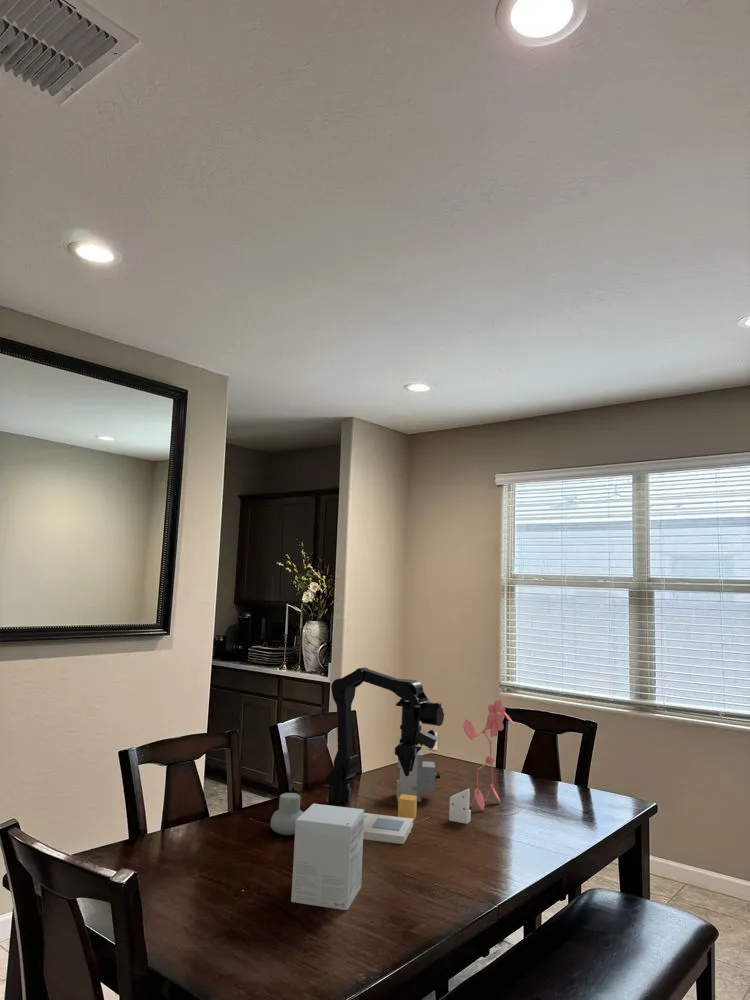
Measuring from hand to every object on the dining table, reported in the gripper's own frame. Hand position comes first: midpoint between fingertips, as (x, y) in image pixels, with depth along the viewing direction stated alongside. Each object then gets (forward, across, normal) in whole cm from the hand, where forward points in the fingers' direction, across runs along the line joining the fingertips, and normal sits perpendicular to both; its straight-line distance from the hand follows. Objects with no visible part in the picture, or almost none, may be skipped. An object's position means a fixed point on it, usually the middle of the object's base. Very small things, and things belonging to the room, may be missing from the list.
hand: (408, 773), depth 214 cm
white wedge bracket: (+13, +3, -16) cm, 21 cm away
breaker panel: (+13, -15, +7) cm, 21 cm away
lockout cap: (+13, 0, 0) cm, 13 cm away
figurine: (+13, +19, -26) cm, 35 cm away
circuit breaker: (+13, +21, 0) cm, 25 cm away
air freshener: (+13, -25, +30) cm, 41 cm away
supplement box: (+13, -60, +8) cm, 62 cm away
